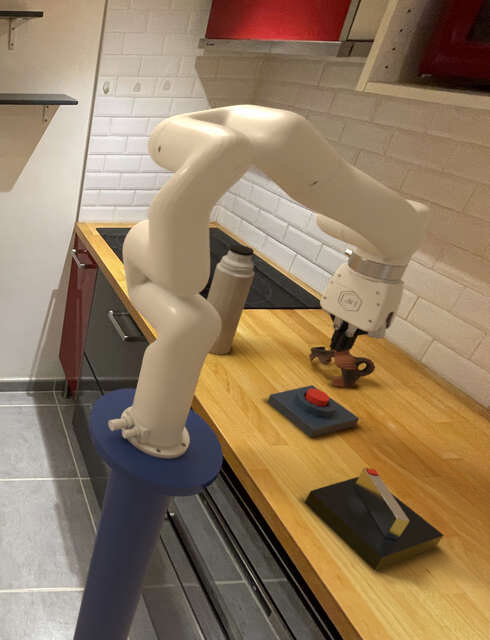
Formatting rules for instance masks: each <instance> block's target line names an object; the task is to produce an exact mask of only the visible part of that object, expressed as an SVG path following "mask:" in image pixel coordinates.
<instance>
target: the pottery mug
mask: <svg viewBox="0 0 490 640" xmlns="http://www.w3.org/2000/svg"><path fill="white" fill-rule="evenodd" d="M309 349H310V354H309V355H308V358H309V361H310V362H311V363H312V362H313V361H314V359H316V358H317V359H318V360H319V361H320V362H321V363H322V364H324V365H327V364H328V363H331V362H332V358H334V359H333V360H334V365H335V366H336V367H337V368H339V369H340V371H341V375H340V376H331V383H332V386H333V387H339V388H340V387H342V388H343V387H345V388H348V387H349V388H351V387H355V386H356V383H357V381H358V379H360V378H363V377H366V376H370V375H371V374H372V373H374V371H375V369H376V366H375V362H374V361H372V359H370V358H367V357H361V356H354V355H353V354H352V353H350V350H346V351H341V352H337V351H335V349H332V348H330V349H326V346H314V347H311V348H309ZM363 364H365V367H364V368H362V369H359V366H360V365H363Z"/></svg>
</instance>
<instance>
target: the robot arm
mask: <svg viewBox="0 0 490 640" xmlns="http://www.w3.org/2000/svg"><path fill="white" fill-rule="evenodd" d="M151 131H152V132H151V133H150V135H149V137H148V141H147V152H148V154H149V157H150V159H151V161H153V163H154V164H156V165H157V166H158V167H160V168H162V169H164V170H167V171H169V172H171V173H173V174H172V176H171V177H170V178H169V179H168V180H167V181H166V182H165V183H164V184H163V185H162V187H161V188H160V189H159V190H158V191H157V192H156V194H155V195H154V196H153V198H152V200H151V201H150V204H149V208H148V213H147V214H148V215H147V219H144V220H141V221H139V222H137V223H136V224H135V225H133V226H132V227H131V229H130V230H129V231H128V233H126V236H125V238H124V241H123V245H122V261H123V269H124V276H125V283H126V290H127V295H128V299H129V301H130V303H131V305H132V306H133V308H134V309H135V310H136V311H137V313H138V314H140V315H141V316H142V317H143V318H144V320H146V321H147V322H148V323H149V325H150V326H151V327H152V328H153V329H154V330H155V332H156V334H157V338H156V339H155V340H154V341H152V342H151V343H150V344H149V345H148V346H147V347H146V348H145V350H144V353H143V358H142V363H141V368H140V372H139V375H138V379H137V380H138V381H137V385H136V388H135V389H136V393H135V397H134V401H133V406H131V407H129V408H127V409H126V410H125V411H124V412H123V413H122V416H121V419H114V420H109V422H108V425H109V428H110V430H112V431H115V430H119V429H122V435H123V437H124V438H127V440H128V441H129V442H130V443H131V444H132V445H134V446H135V447H136V448H138V449H139V450H141V451H143V452H144V453H146V454H149V455H152V456H155V457H159V458H166V459H168V458H176V457H179V456H181V455H183V454H184V453H185V452H186V451H187V449H188V446H189V443H190V437H189V433H188V431H187V429H186V428H185V423H186V420H187V417H188V413H189V410H190V409H191V406H192V403H193V399H194V396H195V393H196V390H197V386H198V384H199V383H198V382H199V379H200V376H201V372H202V370H203V367H204V364H205V362H206V359H207V357H208V354H209V353H210V352H209V351H210V349H211V348H212V346H213V344H214V343H215V341H216V340H217V338H218V336H219V334H220V332H221V328H222V323H221V318H220V316H219V314H218V312H217V311H216V309H215V308H214V307H213V306H212V305H211V304H210V303H209V302H208V301H207V298H205V297H204V296H202V295H201V294H200V293H201V292H202V291H203V290H204V289H205V288H206V286H207V284H208V283H209V278H210V276H211V243H210V222H211V221H210V220H211V214H212V212H213V209H214V208H215V206H216V205H217V203H218V202H219V201H220V199H221V198H223V196H224V195H225V194H226V193H227V192H228V191H229V190H231V188H232V187H234V185H236V184H237V183H238V182H239V181H240V180H242V178H243V177H244V175H246V173H247V172H248V170H249V168H250V167H251V164H252V165H254V166H255V167H257V168H259V169H260V170H261V171H262V172H263V173H264V174H265V175H266V176H267V177H268V178H269V179H271V181H272V182H274V183H275V184H276V186H277V187H279V188H280V190H282V191H283V192H284V193H285V194H286V195H287V196H288V197H289V198H290V199H292V200H293V201H295V202H296V203H298V204H299V205H301V206H304V207H305V208H306V209H309V210H311V211H313V212H314V213H316V216H315V221H316V225H317V227H318V228H319V229H320V230H321V231H322V232H323V233H324V234H326V235H327V236H329V237H330V238H331V237H332V238H334V239H335V240H339V241H341V242H343V243H346V244H348V245H351V246H354V248H353V249H351V248H347V249H346V250H345V251H344V255H345V256H346V257H348V259H347V262H342V263H341V265H339V267H338V268H337V270H336V271H335V272H334V274H333V276H332V277H331V278H330V280H329V282H328V284H327V285H326V287H325V289H324V291H323V294H322V295H321V297H320V301H319V305H320V307H321V310H322V311H323V312H324V313H326V314H327V315H328V316H330V320H331V321H332V328H333V329H334V330H333V333H332V335H331V338H330V343H329V349H331V348H332V349H335V351H337V352H341V351H346V350H349V351H350V350H351V349H352V348H353V347H354V345H355V343H356V341H357V338H358V336H363V335H365V336H367V337H370V338H373V339H375V340H379V339H384V338H385V337H386V330H388V329H389V328H390V327H391V326H392V324H393V322H394V320H395V318H396V315H397V313H398V311H399V308H400V306H401V301H402V298H403V294H404V293H403V292H404V288H405V281H404V280H402V278H403V276H404V275H405V273H406V270H407V268H408V266H409V264H410V262H411V260H412V257H413V256H414V254H415V253H417V252H418V251H420V249H421V248H422V247H423V245H424V244H425V242H426V240H427V235H428V233H427V232H428V229H427V226H428V224H429V223H430V220H431V217H432V209H431V208H430V207H429V206H427V205H426V204H424V203H422V202H418V201H415V200H411V199H406V198H404V197H403V196H402V195H400V194H398V193H397V192H395V191H394V190H393V189H391V188H389V187H388V186H386V185H385V184H383V183H381V182H379V181H378V180H376V179H375V178H373V177H372V176H370V175H368V174H367V173H365V172H364V171H362V170H361V169H359V168H358V167H356V166H354V165H352V164H350V163H348V161H346V160H345V159H344V158H343V157H342V156H341V155H340V154H339V152H338V151H336V150H335V149H334V147H333V146H332V145H331V144H330V143H329V142H328V141H327V140H326V139H325V137H324V136H323V135H322V134H321V133H320V132H319V131H318V130H317V129H316V127H314V125H313V124H312V123H311V122H310V121H309V120H307V118H305V117H304V116H302V115H301V114H299V113H296V112H293V111H290V110H286V109H280V108H274V107H267V106H262V105H256V104H236V105H229V106H222V107H216V108H211V109H205V110H200V111H193V112H187V113H181V114H176V115H172V116H170V117H167V118H166V119H163V120H161V122H159V123H158V124H157V125H156V126H155V127H154V129H152V130H151Z"/></svg>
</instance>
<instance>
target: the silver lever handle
mask: <svg viewBox="0 0 490 640" xmlns="http://www.w3.org/2000/svg"><path fill="white" fill-rule="evenodd" d="M358 477H359V478H358V480H357V482H356V483H355V485H354V487H355V489H356V490H357V492H358V494H359V495H360V497H361V499H362V500H363V502H364V503H365V505H366V507H367V508H368V510H369V512H370V513H371V515H372V517H373V518H374V520H375V522H376V523H377V525H378V527H379V528H380V530H381V532H382V533H383V535H384V536H385V538H390V539H394V540H398V538H399V537H400V535H401V534H402V532H403V531H404V529H405V528H406V526H407V524H408V523H409V519H408V518H407V516H406V515H405V513H404V512H403V510H402V509H401V507H400V506H399V504H398V503H397V501H396V500H395V498H394V497H393V496H392V494H393V493H392V492H391V491H390V490H389V488H388V486H387V485H386V484H385V482H384V481H383V479H382V478H381V476H380V474H379V473H378V471H377V469H374V468H369V467H363V468H362V470H361V472H360V474H359V476H358ZM391 493H392V494H391Z"/></svg>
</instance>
